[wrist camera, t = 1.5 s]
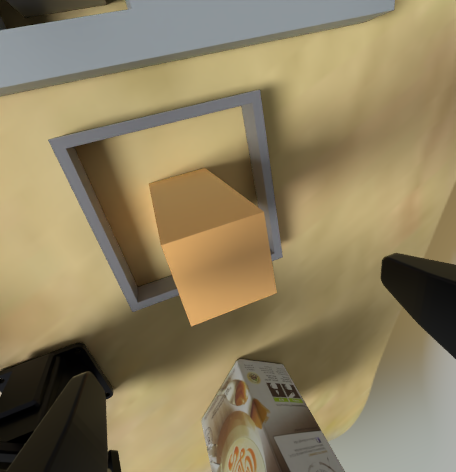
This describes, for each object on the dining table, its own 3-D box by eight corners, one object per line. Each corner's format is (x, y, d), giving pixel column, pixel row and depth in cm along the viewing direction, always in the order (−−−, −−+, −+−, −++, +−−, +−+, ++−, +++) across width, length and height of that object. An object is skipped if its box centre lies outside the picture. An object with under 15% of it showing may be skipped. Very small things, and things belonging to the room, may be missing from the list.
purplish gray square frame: (271, 246, 23) (282, 257, 22) (132, 295, 21) (132, 312, 19) (247, 92, 18) (260, 89, 16) (57, 137, 16) (48, 139, 14)
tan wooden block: (217, 218, 21) (277, 293, 12) (166, 235, 20) (191, 326, 11) (204, 167, 19) (263, 211, 10) (148, 183, 18) (161, 245, 10)
